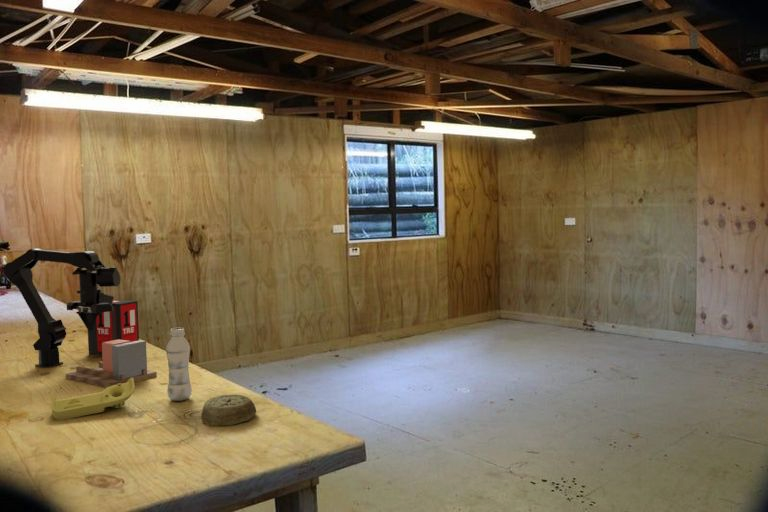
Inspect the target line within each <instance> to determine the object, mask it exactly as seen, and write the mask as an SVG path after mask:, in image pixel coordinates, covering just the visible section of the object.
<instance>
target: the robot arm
mask: <svg viewBox="0 0 768 512" xmlns="http://www.w3.org/2000/svg"><path fill="white" fill-rule="evenodd" d="M42 261H43V262H53V263H61V264H68V265H71V266H73V267H77V268H76V269H75V270H74V271H72V272H71V273H72V274H71V275H76V276H77V275H78V284H79V285H78V286H79V289H78V290H76V293H77V294H79V300H74V301H68V302H67V304H66V310H67V311H73V310H78V311H76V315H78V316H79V318H80V320H81V321H82V322H83V324H84V326H85V328H86V329H87V332H88V331H93V327H94V324H95V321H96V318H97V316H98V315H99V314H100V313H102V312H109V311H113V305H112V302H113V300H115V299H114V298H115V296H112V295H108V294H105V293H104V292H102V291H101V289H99V288H98V286H99V287H100V288H101V287H102V288H103V287H104V288H105V287H119V285H120V284H121V275H120V272H119V271H118V267H117V266H113V267H106V265H104V264H103V263H102V261H101V260H100V257H99V255H98V254H97V252H96V251H93V250H86V251H73V252H69V251H62V250H61V251H60V250H59V251H58V250H49V249H41V248H29V249H28V250H27V251H26V252H25V253H22V254H21V255H20V256H17V257H16V258H14V259H13V260H12V261H10V262H7V263H6V264H5V265H4V267H3V269H2V272H3V275H4V276H5V278H6V279H7V280H8V281H9V282H10V283H11V284H12V285H13V286H15V287H16V288H18V291H19V292H20V294H21V296H22V298H23V299H24V301H25V303H26V304H27V307H28V308H29V310H30V312H31V315H33V317H34V320H35V321H36V324H37V333H38V336H39V338H38V339H37V340H36V341H35V342H34V343H33V344H32V347H33V349H34V351H38V363H37V364H34V366H35V367H39V368H40V367H41V368H50V367H55V366H59V365H62V364H64V362H63V361H60V351H59V350H60V349H59V346H62V344H63V341H64V340H65V339H66V336H67V331H66V330H67V328H66V327H65V325H64V324H63V321H62V319H55V318H54V317H52V315H51V313H50V310H49V309H48V308H47V306H46V304H45V302H44V300H43V299H42V296H41V295H40V293H39V291H38V289H37V287H36V286H35V284H34V281H33V280H34V279H33V271H32V269H33V268H34V267H36V266H37V264H38V262H42Z"/></svg>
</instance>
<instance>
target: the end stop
mask: <svg viewBox="0 0 768 512" xmlns="http://www.w3.org/2000/svg"><path fill="white" fill-rule="evenodd" d="M147 353H148V352H147V341H146V340H140V339H139V340H138V341H133V342H128V343H123V344H118V345H113V346H112V363H113V380H118V381H120V380H121V375H125V379H128V378H132V377H136V376H139V375H143V370H145V369H147V370H148V359H147Z"/></svg>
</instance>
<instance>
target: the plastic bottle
mask: <svg viewBox="0 0 768 512" xmlns="http://www.w3.org/2000/svg"><path fill="white" fill-rule="evenodd" d="M185 335H186V333H185V327H173V328H170V337H171V338H170V339H169V341H168V343H167V345H166V347H165V352H166V357H167V362H168V363H167V365H168V383H167V390H166V391H167V397H168V398H169V400H170V401H174V402H181V401H185V400H189V398H191V395H192V391H193V390H192V384H191V379H190V371H189V368H190V364H189V363H190V362H189V360H190V352H191V351H190V350H191V346H190V343H189V342H188V340H187V339H186V338H185Z"/></svg>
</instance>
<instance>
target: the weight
mask: <svg viewBox="0 0 768 512" xmlns="http://www.w3.org/2000/svg"><path fill="white" fill-rule="evenodd" d="M256 414H257V408H256V405H255V403H254V402H253V401H252V399H251V398H250V397H248V396H245V395H242V394H224V395H218V396H214V397H211V398H209V399H207V400H206V401H205V403H204V405H203V407H202V410H201V416H200V417H201V422H202V423H203V424H206V425H208V426H210V427H211V426H212V427H219V426H220V427H221V426H233V425H236V424H237V425H238V424H240V423H243V422H248V421H249V420H251V419H252V418H253V417H255V416H256Z"/></svg>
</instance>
